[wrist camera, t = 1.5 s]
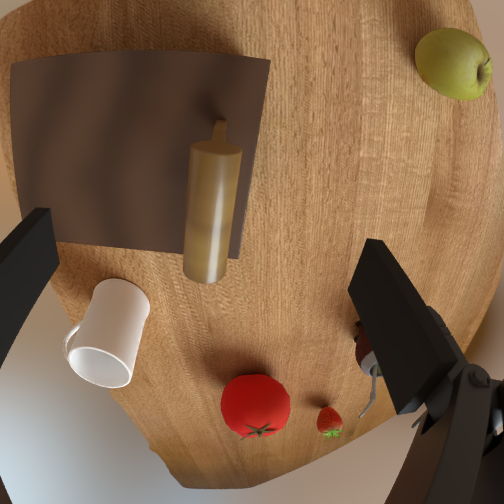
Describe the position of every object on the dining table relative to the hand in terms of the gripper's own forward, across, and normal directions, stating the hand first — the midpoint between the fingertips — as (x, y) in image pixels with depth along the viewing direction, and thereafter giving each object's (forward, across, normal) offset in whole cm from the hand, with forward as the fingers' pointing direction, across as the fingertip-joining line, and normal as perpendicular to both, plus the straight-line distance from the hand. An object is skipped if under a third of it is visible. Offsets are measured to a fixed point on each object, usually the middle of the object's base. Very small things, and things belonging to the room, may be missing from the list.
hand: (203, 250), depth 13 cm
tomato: (+23, +10, -41) cm, 48 cm away
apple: (+22, +22, +13) cm, 34 cm away
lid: (+11, -7, 0) cm, 13 cm away
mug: (+23, -13, -25) cm, 36 cm away
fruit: (+23, +27, -51) cm, 62 cm away
